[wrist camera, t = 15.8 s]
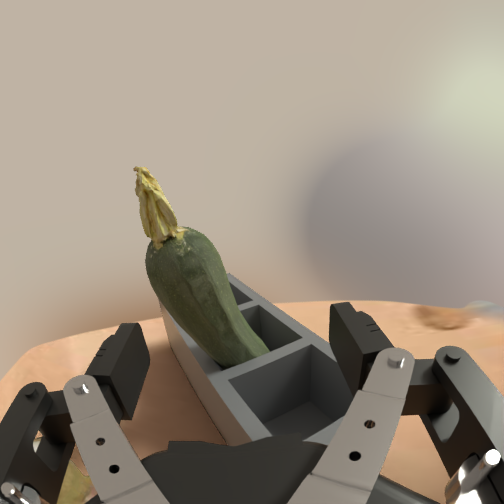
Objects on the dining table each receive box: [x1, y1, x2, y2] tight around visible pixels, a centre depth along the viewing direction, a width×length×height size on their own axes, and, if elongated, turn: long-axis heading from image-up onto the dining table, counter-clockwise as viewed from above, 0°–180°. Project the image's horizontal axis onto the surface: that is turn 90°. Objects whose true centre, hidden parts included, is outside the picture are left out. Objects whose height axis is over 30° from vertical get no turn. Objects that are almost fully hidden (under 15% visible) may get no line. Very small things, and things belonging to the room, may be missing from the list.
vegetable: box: [134, 167, 270, 370], centre depth 19 cm, size 4×4×20 cm
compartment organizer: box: [158, 273, 354, 446], centre depth 24 cm, size 24×8×7 cm, turn 29°
